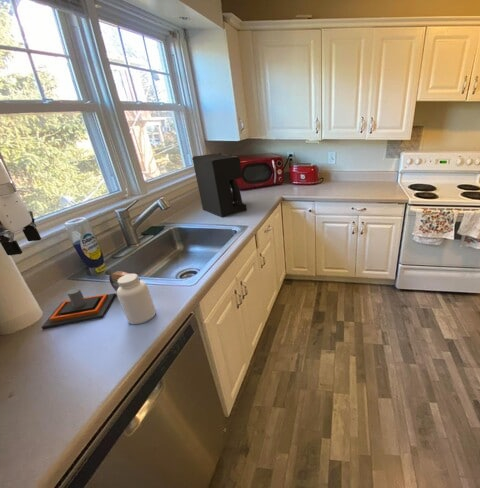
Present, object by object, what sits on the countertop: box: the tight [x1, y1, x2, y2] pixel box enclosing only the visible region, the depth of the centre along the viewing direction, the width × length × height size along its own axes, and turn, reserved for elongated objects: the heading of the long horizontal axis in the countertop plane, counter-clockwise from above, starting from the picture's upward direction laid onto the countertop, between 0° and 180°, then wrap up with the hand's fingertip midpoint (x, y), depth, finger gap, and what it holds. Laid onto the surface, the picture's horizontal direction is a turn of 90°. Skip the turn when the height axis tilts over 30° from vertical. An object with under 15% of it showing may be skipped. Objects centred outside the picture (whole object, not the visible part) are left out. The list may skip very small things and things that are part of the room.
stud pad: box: [60, 288, 101, 316], centre depth 92 cm, size 9×6×7 cm, turn 109°
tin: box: [108, 270, 141, 292], centre depth 101 cm, size 15×3×8 cm, turn 67°
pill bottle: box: [116, 273, 157, 325], centre depth 88 cm, size 8×8×15 cm
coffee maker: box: [191, 153, 248, 218], centre depth 180 cm, size 28×20×35 cm
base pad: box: [41, 292, 117, 330], centre depth 94 cm, size 16×13×2 cm
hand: (25, 247), depth 83 cm, fingers open, 9 cm apart
